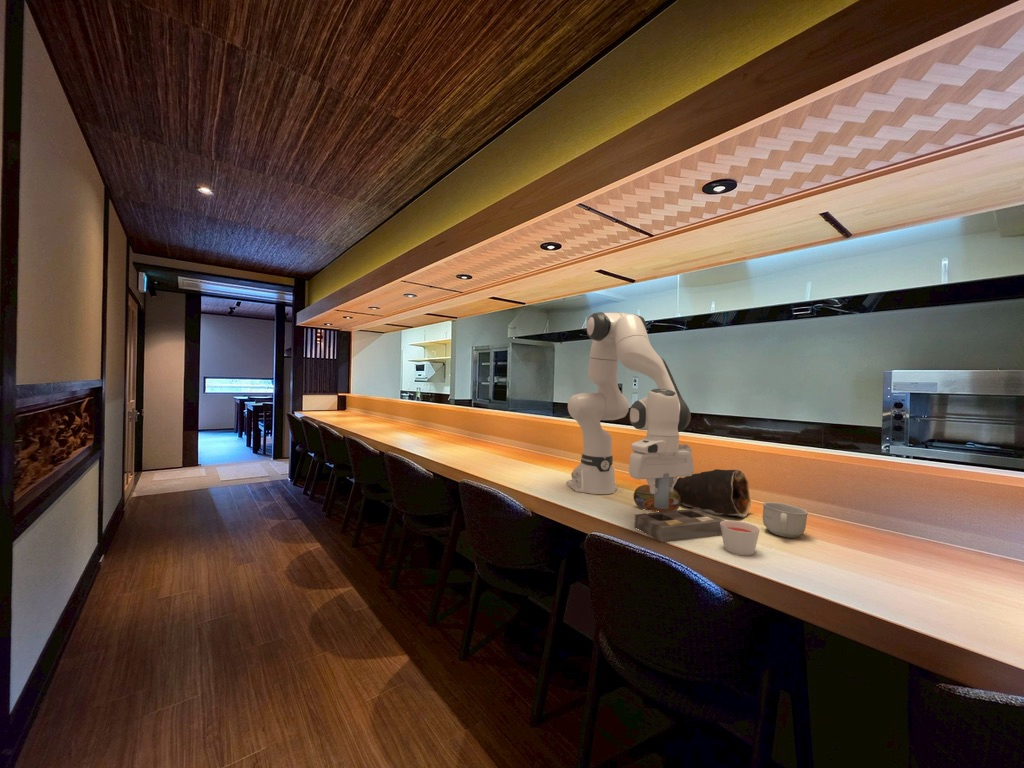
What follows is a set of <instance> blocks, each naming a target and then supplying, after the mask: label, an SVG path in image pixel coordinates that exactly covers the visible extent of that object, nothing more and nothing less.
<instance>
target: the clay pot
mask: <svg viewBox="0 0 1024 768" xmlns="http://www.w3.org/2000/svg"><path fill="white" fill-rule="evenodd" d="M749 487H750V485H749V480H748V479H747V477H746V475H745V473H744V472H743V471H742V470H739V469H719V468H718V469H717V468H715V469H713V470H709V471H707V470H706V471H701V472H698V473H693V474H692V476H685V477H677V482H676V483H675V485H674V487H673V489H674V490H675V491H676V492H677V493H678V494H679V496H680V505H682V506H684V507H686V508H687V507H688V508H691V509H697V510H700V511H702V512H705V513H707V514H710V515H713V514H714V515H713V516H733V517H740V518H745V517H747V515H748V512H749V510H750V508H751V506H752V505H751V503H752V499H751V495H750V488H749Z"/></svg>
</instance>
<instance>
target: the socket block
mask: <svg viewBox="0 0 1024 768" xmlns="http://www.w3.org/2000/svg"><path fill="white" fill-rule="evenodd" d="M722 521H726V520H725V519H722V518H721V517H718V516H716V515H713V514H710V513H706V512H703V511H700V510H697V509H695V508H689V509H688V508H687V509H686V508H685V509H677V510H675V511H664V512H656V511H653V512H646V513H643V512H642V513H635V515H634V529H636V528H637V530H638V529H639V530H638V531H640V530H641V531H640V532H642V531H643V532H642V533H643V534H645V533H646V534H645V535H648V536H649V537H651V538H653V539H655V540H657V541H658V542H660V543H669V542H670V541H671V542H677V541H679V542H680V541H685V540H694V539H702V538H708V537H709V538H710V537H711V538H712V537H717V536H722V532H721V526H720V522H722ZM671 542H670V543H671Z"/></svg>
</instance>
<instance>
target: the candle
mask: <svg viewBox="0 0 1024 768" xmlns="http://www.w3.org/2000/svg"><path fill="white" fill-rule="evenodd" d="M720 526H721V532H722V535H721V536H722V542H723V548H724V549H725V550H726V551H727V552H729V553H731V554H734V555H740V556H752V555H754V554H755V551H756V548H757V544H758V540H759V539H758V538H759V535H760V532H761V531H760V529H761V528H760V527H758V526H757V525H755V524H752V523H749V522H745V521H741V520H740V521H739V520H731V519H730V520H725V521H722V522H720Z"/></svg>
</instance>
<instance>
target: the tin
mask: <svg viewBox="0 0 1024 768" xmlns="http://www.w3.org/2000/svg"><path fill="white" fill-rule="evenodd" d="M633 501H634V503H635V505H636V506H637V507H638V508H640V510H643V509H645V510H644V511H649V510H652V511H651V512H656V511H659V512H664V511H675V510H679V508H680V506H681V503H680V496H679V494H678V493H677V492H676V491H675V490H674V489H673V492H672V493H669V508H668V509H659V508H655V507H654V494H652V493H650V486H649V485H648V484H641V485H640V486H638V487H637V488H635V490H634V492H633Z"/></svg>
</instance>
